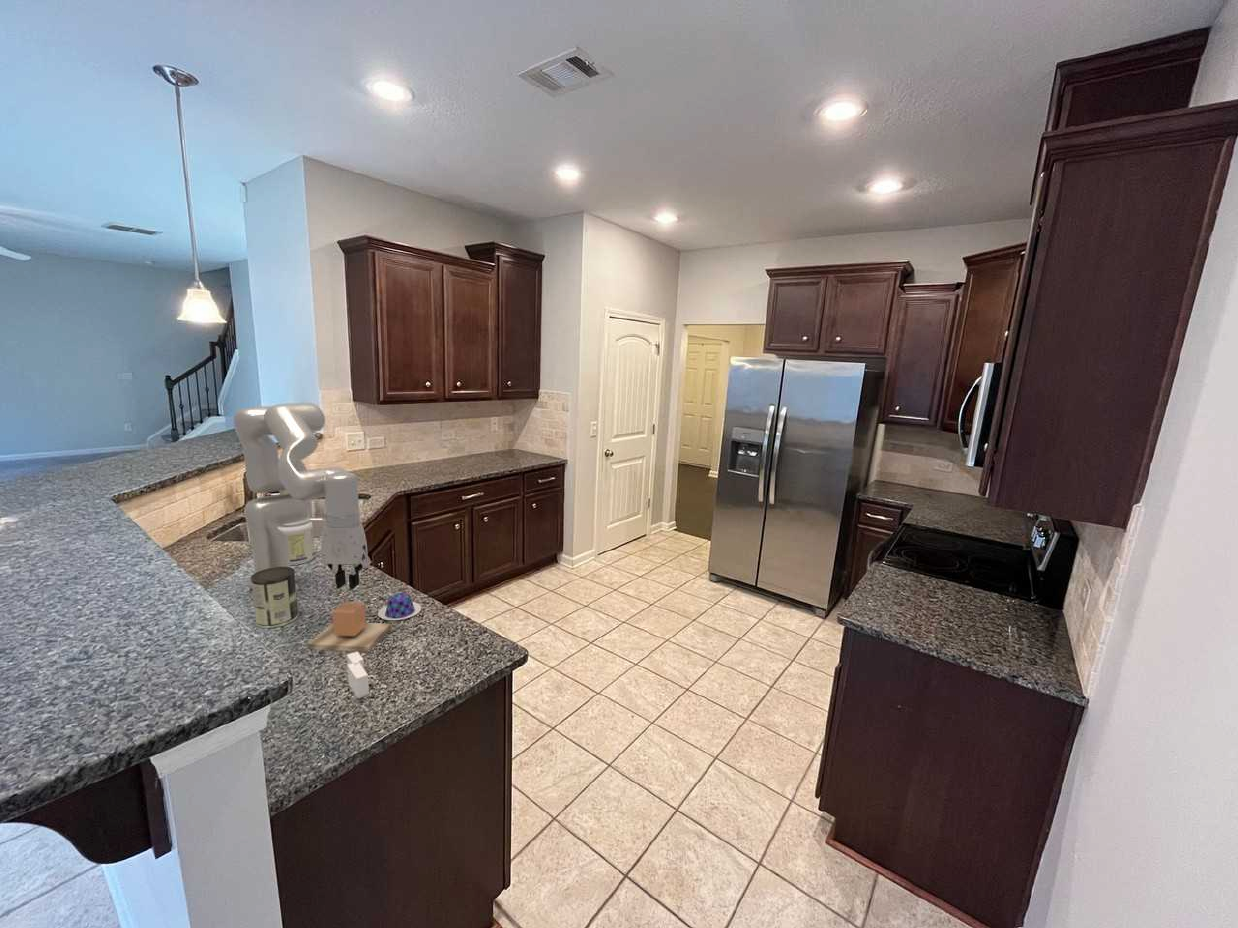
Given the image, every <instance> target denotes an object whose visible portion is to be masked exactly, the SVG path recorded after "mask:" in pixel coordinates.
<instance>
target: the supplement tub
mask: <svg viewBox="0 0 1238 928" xmlns="http://www.w3.org/2000/svg"><path fill="white" fill-rule="evenodd" d="M310 520H311V518H310V515H309V516H308V517H307V518H306V519H304V520H301V521H296V522H292V523H287V524H283V525H279V526H278V529H279V530H281V531H282V532H283V533H285V534H286V536H287V538H288V543H289V554H290V565H291V566H297V565H302V564H306V563H309V562H311V561H312V560H314V559H315V557H316V548H315V538H314V537H315V536H314V524H313V522H312V521H310Z"/></svg>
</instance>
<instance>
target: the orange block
mask: <svg viewBox="0 0 1238 928" xmlns="http://www.w3.org/2000/svg"><path fill="white" fill-rule="evenodd" d="M366 618H367V617H366V604H365V603H364V602H347V601H345V602H343V603H341V604H340V605H339V606H337V608H335V609H334V610H333V611H332V623H333V627H334V635H343V636H356V635H357V634H358V633H359V632H360V631H361V630H362V629H363V628H364V627H365V626H366V623H367V621H366V620H367V619H366Z"/></svg>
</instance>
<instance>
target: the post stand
mask: <svg viewBox="0 0 1238 928" xmlns="http://www.w3.org/2000/svg"><path fill="white" fill-rule="evenodd" d="M391 625H392V624H391V623H380V622H379V623H378V622H366V626H365V627H364V628H363V629H362V630H361V631H360V632H359V633H358V634H357V635H356V636H343V635H334V627H333V622H332V623H330V624H329V626H327V627H326V628H324V629H323V630H322V631H321V632H320V633H318V634H317V635H316V636H315V637H314V638H313V639H311V640H310V641H309V642H308V643H307V649H308V650H316V651H317V650H319V651H320V650H321V651H333V652H334V651H335V652H336V651H337V652H352V653H354V652H357V651H358V653H370V652H371V651H372V650H373V648H375V647H376V646H377V645H378V643H379V642H380V641H381V640H382V639H383V638H384V637H385V636H386V634H388V633H389V631H390V630H391V629H392V626H391Z"/></svg>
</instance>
